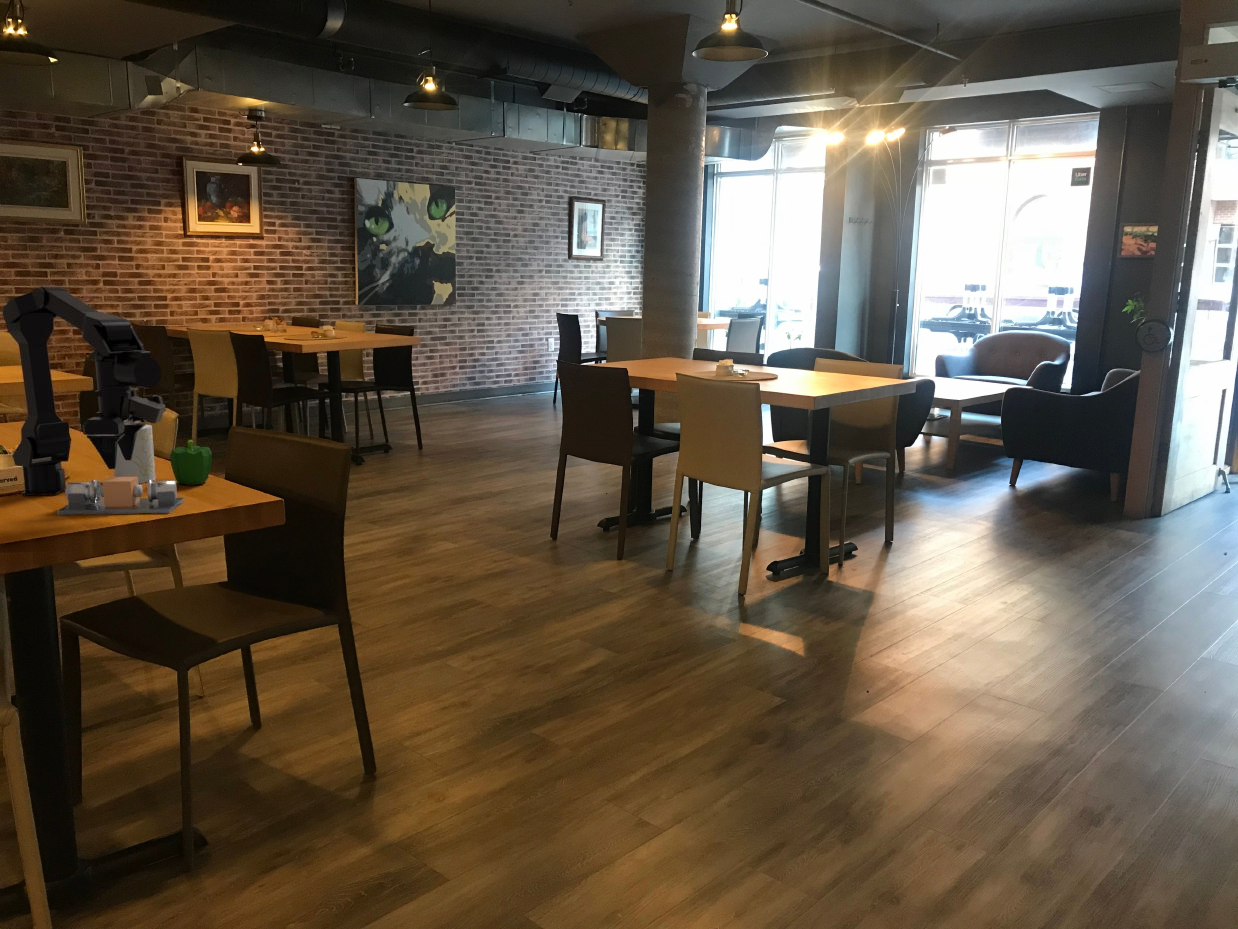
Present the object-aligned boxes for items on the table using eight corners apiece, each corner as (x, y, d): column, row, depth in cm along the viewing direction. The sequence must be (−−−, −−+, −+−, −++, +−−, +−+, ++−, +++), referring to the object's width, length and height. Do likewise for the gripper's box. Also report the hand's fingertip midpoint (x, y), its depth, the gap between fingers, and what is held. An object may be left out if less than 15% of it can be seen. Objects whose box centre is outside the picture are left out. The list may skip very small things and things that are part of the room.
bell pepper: (179, 479, 217) (176, 435, 215) (217, 479, 218) (214, 435, 216) (165, 487, 209) (162, 441, 207) (205, 487, 210) (202, 442, 208)
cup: (139, 485, 211) (135, 430, 208) (106, 482, 212) (102, 428, 210) (163, 477, 219) (159, 425, 216) (131, 475, 220) (127, 423, 218)
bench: (57, 514, 184) (55, 485, 183) (77, 502, 193) (75, 474, 192) (169, 513, 187) (167, 484, 186) (183, 501, 197) (182, 474, 196)
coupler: (145, 501, 193) (143, 476, 192) (137, 506, 188) (135, 481, 188) (107, 501, 192) (105, 476, 191) (99, 506, 187) (97, 481, 186)
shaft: (148, 506, 189) (146, 481, 188) (150, 501, 193) (148, 477, 192) (176, 504, 191) (174, 480, 190) (177, 499, 195) (176, 475, 194)
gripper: (143, 390, 178) (149, 473, 181) (172, 379, 196) (177, 455, 199) (78, 390, 176) (85, 474, 179) (114, 379, 194) (119, 456, 197)
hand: (120, 464), depth 188 cm, fingers open, 9 cm apart
